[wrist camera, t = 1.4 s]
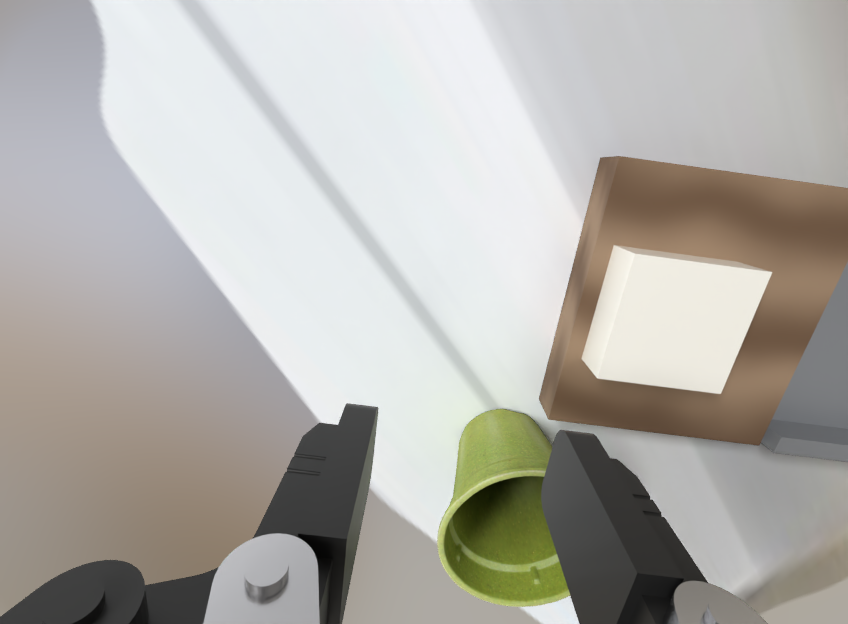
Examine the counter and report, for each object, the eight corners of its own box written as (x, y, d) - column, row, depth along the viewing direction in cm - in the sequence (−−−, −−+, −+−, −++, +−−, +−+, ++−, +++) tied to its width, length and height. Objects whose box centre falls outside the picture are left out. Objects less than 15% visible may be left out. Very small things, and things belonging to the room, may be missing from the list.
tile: (613, 244, 22) (635, 253, 20) (737, 261, 23) (772, 272, 20) (581, 358, 25) (597, 378, 22) (693, 372, 25) (720, 394, 23)
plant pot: (411, 425, 30) (403, 523, 21) (526, 362, 28) (566, 443, 20) (477, 511, 32) (492, 628, 24) (586, 458, 30) (644, 565, 22)
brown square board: (600, 157, 23) (619, 156, 21) (835, 190, 24) (880, 192, 21) (538, 398, 29) (548, 419, 26) (732, 422, 29) (759, 445, 27)
